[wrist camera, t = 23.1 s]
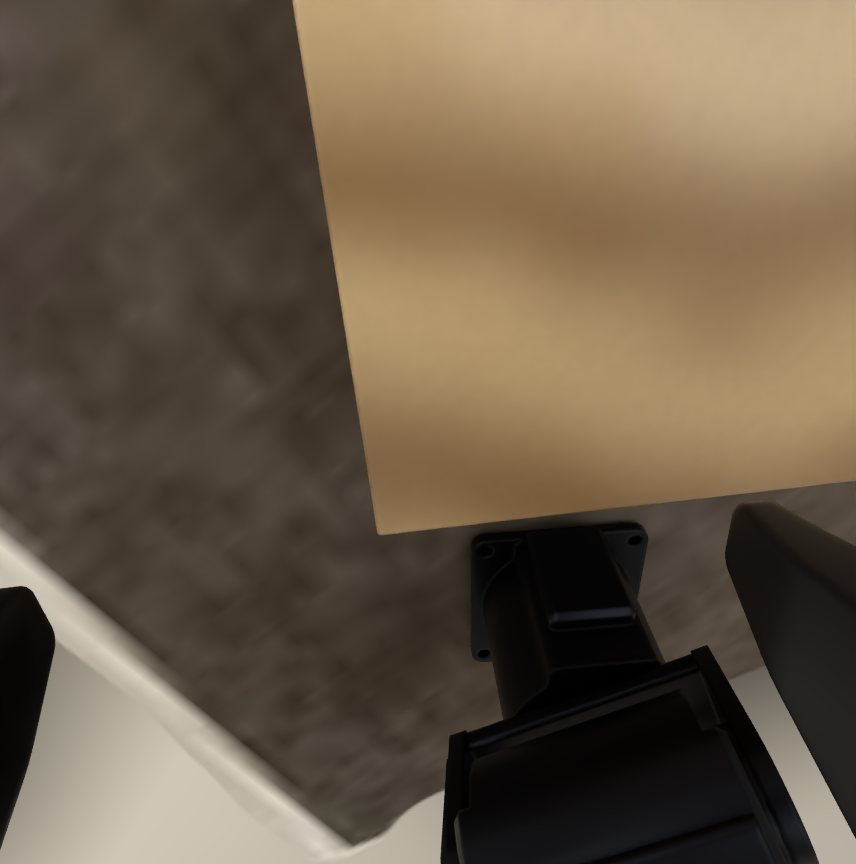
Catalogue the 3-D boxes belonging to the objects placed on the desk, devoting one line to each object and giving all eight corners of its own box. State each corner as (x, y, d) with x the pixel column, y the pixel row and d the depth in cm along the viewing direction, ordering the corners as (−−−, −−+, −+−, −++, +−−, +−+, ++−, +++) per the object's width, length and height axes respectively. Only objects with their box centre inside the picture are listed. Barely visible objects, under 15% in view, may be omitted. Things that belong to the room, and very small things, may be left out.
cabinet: (292, -193, 15) (239, -323, 8) (835, -244, 15) (1181, -406, 9) (373, 376, 22) (377, 537, 16) (737, 336, 22) (886, 478, 16)
